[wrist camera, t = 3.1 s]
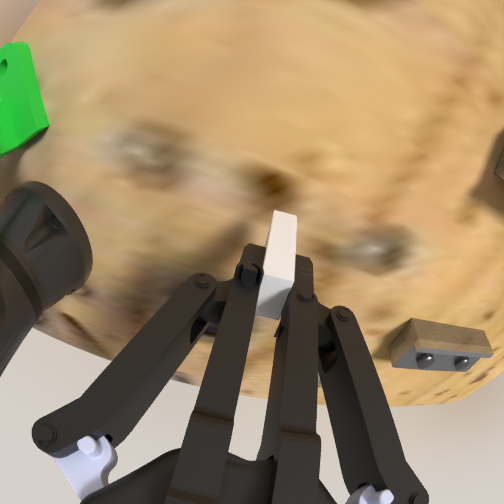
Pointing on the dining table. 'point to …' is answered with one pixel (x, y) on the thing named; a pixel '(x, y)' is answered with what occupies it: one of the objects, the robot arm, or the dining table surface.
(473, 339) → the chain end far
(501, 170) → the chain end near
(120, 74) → the dining table surface
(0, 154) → the mechanical part
